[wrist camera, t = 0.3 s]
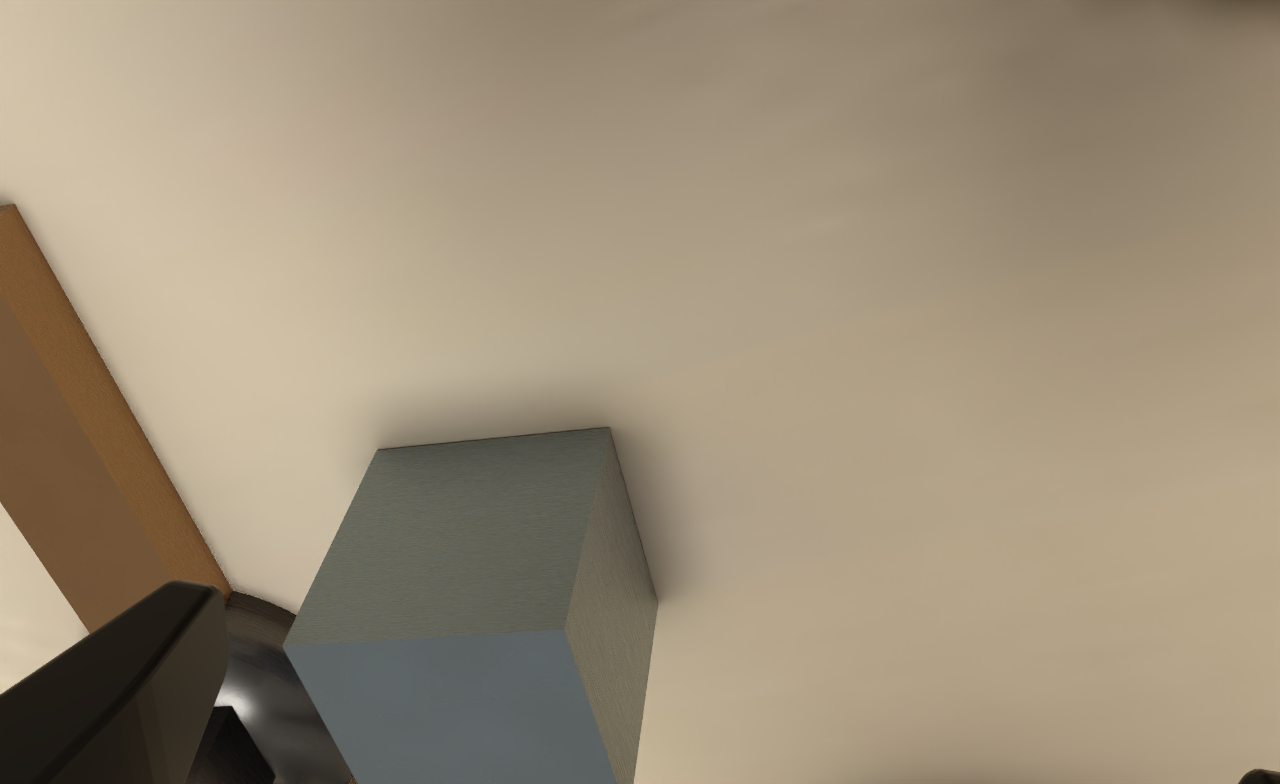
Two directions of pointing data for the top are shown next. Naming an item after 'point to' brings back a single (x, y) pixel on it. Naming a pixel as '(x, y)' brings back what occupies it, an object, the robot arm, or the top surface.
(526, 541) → the brushed slate-grey cube
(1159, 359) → the top surface
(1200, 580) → the top surface
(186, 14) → the top surface
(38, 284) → the brown bar with disc
